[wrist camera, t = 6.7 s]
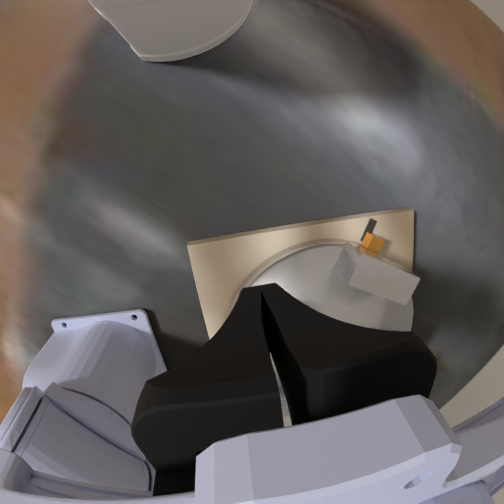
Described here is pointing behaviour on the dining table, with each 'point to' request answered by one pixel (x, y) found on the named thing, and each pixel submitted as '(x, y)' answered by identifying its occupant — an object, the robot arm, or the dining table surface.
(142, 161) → the dining table surface
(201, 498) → the robot arm
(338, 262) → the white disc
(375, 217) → the nut base
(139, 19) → the jar
